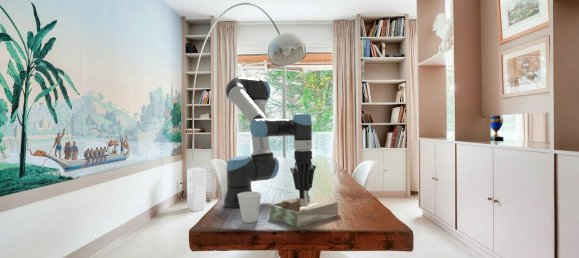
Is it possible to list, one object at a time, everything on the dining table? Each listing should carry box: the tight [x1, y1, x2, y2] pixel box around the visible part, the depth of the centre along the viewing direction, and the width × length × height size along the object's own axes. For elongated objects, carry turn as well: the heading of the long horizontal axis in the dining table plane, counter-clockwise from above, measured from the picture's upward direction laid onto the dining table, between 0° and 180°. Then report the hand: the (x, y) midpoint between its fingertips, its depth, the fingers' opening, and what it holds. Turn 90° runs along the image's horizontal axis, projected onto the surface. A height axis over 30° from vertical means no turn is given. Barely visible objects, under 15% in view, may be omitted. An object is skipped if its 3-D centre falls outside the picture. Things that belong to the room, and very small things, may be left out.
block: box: [281, 198, 300, 212], centre depth 129 cm, size 5×5×5 cm
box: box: [268, 195, 339, 228], centre depth 135 cm, size 18×23×6 cm
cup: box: [237, 191, 262, 224], centre depth 129 cm, size 10×10×11 cm
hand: (304, 205), depth 134 cm, fingers closed
